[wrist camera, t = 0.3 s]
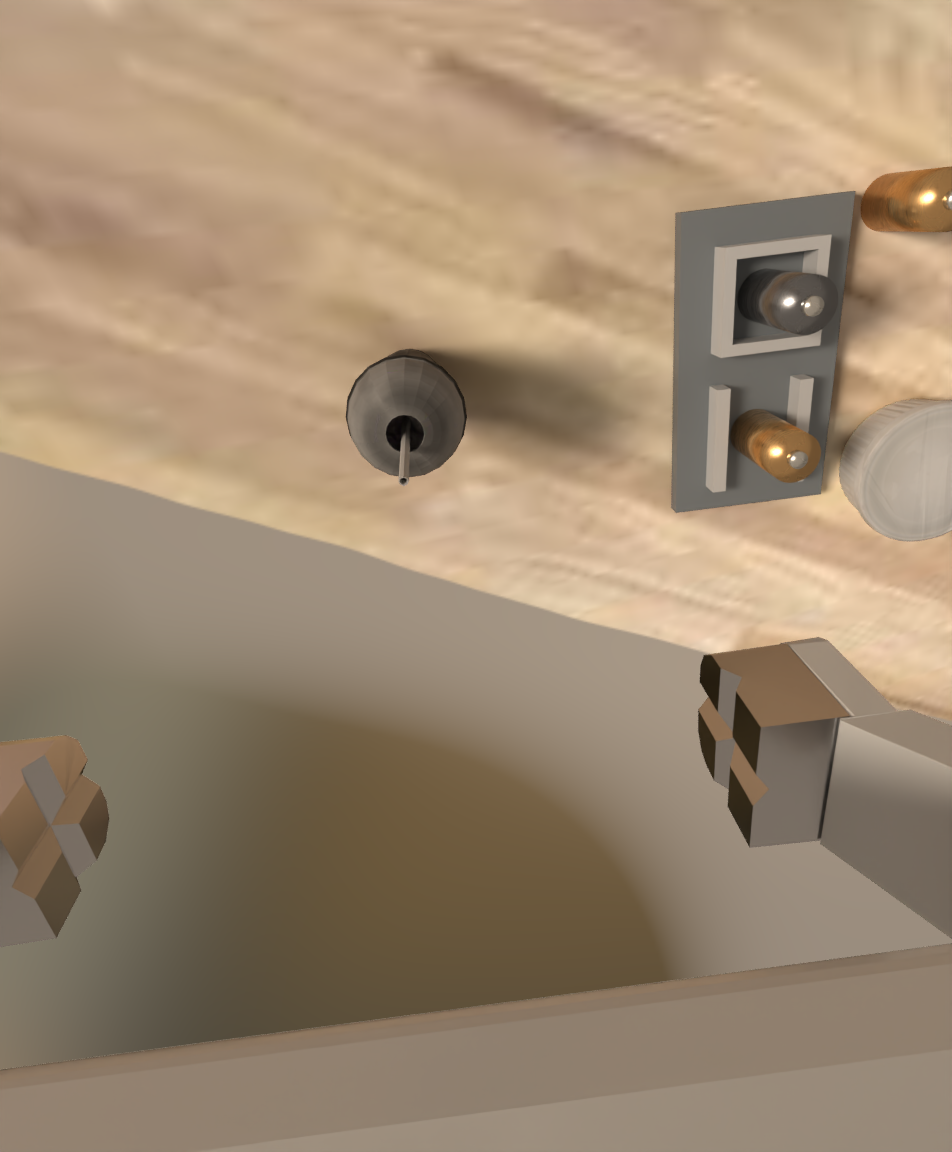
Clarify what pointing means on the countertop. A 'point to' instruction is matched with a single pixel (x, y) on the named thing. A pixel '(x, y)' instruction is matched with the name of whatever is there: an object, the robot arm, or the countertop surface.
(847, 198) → the gray slab
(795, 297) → the cylinder
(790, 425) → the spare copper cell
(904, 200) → the copper cell
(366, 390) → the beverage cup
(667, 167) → the countertop surface
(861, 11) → the countertop surface
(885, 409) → the ramekin
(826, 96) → the countertop surface
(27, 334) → the countertop surface
